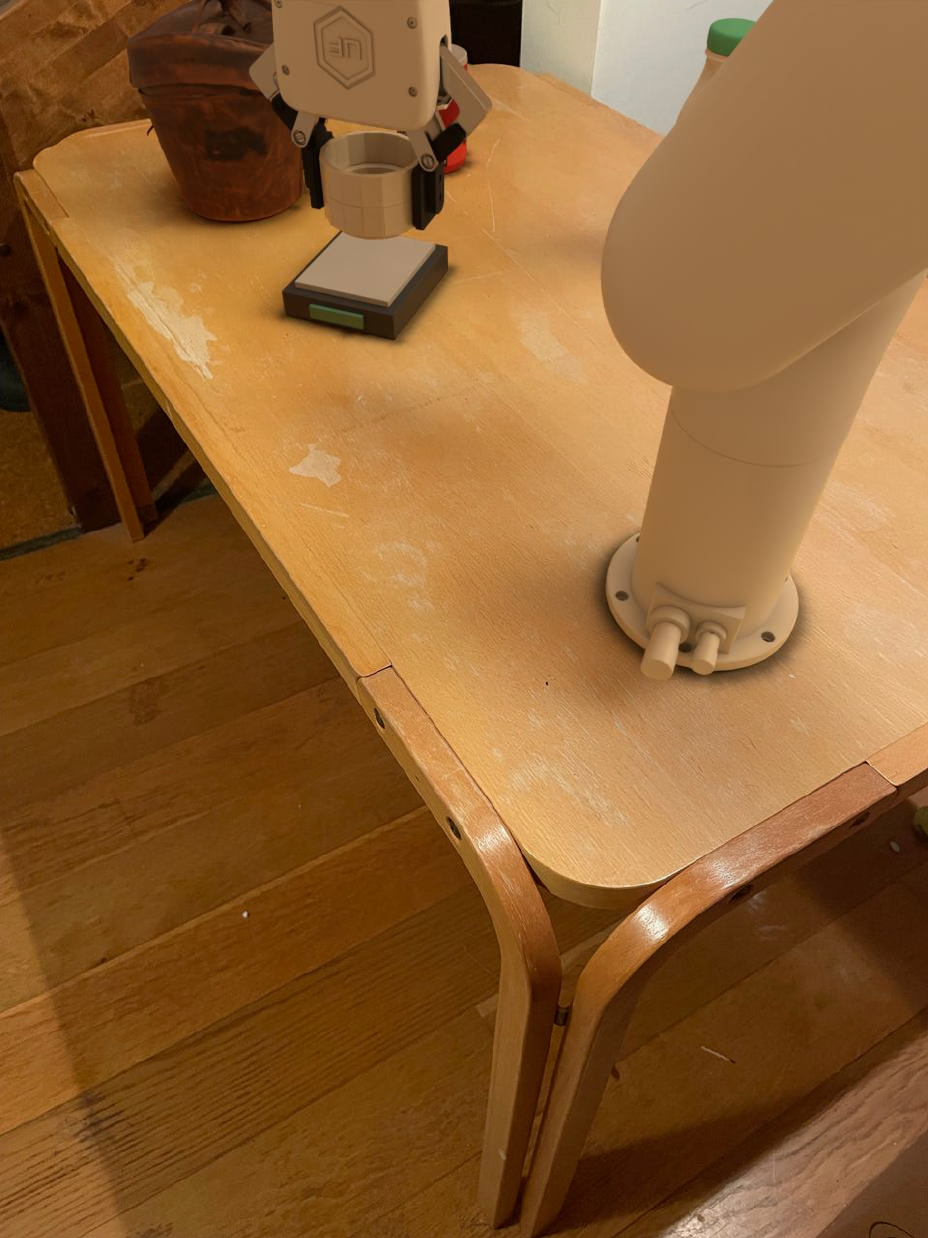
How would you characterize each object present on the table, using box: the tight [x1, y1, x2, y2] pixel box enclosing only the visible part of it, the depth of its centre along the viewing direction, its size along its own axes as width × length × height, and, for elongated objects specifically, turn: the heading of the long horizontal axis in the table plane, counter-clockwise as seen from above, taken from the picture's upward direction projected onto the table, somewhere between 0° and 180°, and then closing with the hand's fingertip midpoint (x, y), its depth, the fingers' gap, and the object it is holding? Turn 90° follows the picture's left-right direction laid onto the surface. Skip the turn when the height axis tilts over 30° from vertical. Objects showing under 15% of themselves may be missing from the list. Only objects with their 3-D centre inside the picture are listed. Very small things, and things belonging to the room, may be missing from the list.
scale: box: [281, 230, 449, 340], centre depth 84 cm, size 14×11×3 cm
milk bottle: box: [675, 17, 756, 124], centre depth 82 cm, size 8×8×20 cm
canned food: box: [396, 43, 468, 175], centre depth 98 cm, size 8×8×11 cm
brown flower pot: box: [125, 0, 305, 222], centre depth 90 cm, size 18×20×18 cm
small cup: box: [319, 129, 418, 240], centre depth 60 cm, size 7×7×4 cm
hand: (375, 208), depth 61 cm, fingers closed on small cup, 6 cm apart
